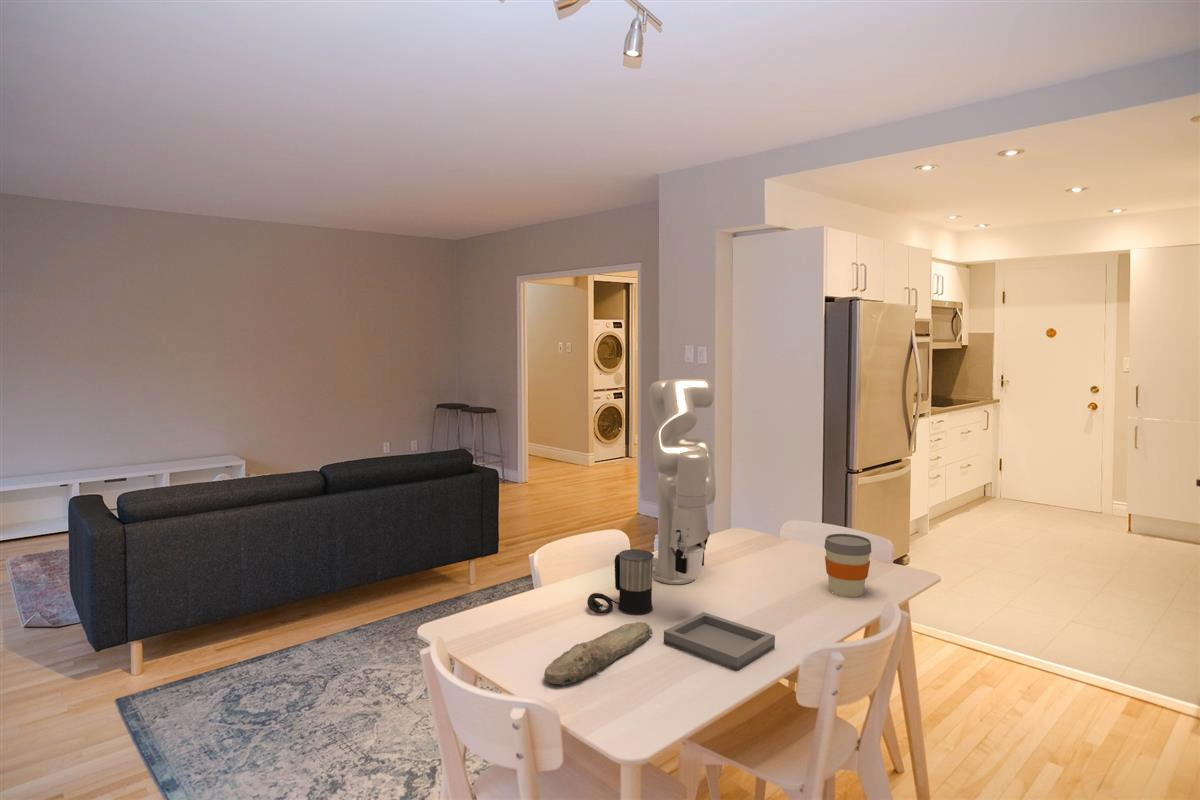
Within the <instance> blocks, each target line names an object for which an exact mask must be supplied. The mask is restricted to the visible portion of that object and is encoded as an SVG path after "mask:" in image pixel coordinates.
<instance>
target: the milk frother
mask: <svg viewBox="0 0 1200 800" xmlns="http://www.w3.org/2000/svg"><path fill="white" fill-rule="evenodd" d="M654 555H655V554H654V553H653V552H651V551H649V550H645V549H637V548H630V549H625V550H622V551H621V550H620V552H619V553H617V554H616V555H615V558H614V585H615V586H614V587H615V588H614V589H615V590H616V591H619V596H618V597H619V598H618V601H615V600H614V599H612V598H611V597H609V596H608V595H605V594H603V593H599V592H593V593H591V594H589V595H588V598H587V601H586V603H587V606H588V609H589V610H591V612H593V613H596V614H600V615H605V614H609V613H611V612H612V611H613V610H614V604H617V609H618V610H619V611H620V612H622V613H625V614H629V615H636V616H637V615H639V616H640V615H645V614H648V613H650V612H652V611H653V604H652V603H653V598H652V597H653V595H652V594H653V592H652V591H653V568H654V566H653V557H654ZM654 558H655V557H654ZM596 599H600V600H603V601H605V603H607V605H608V607H607V608H604V609H603V606H604V604H603V603H600V601H598V600H596Z"/></svg>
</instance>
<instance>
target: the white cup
mask: <svg viewBox="0 0 1200 800" xmlns="http://www.w3.org/2000/svg"><path fill="white" fill-rule="evenodd" d="M680 551H681V552H682V551H683V548H681V547H680ZM703 552H704V553H705V550H704V549H703V548H702V547H700V546H697V545H693V546H691V547H688V549H687V553H686V556H685V558H687V573H685V574H683V573H680V572H678V573H679V576H681V577H683V578H687V579H694V580H695V579H698V578H700V577H701V576H702V567H703V566H702V560H703Z"/></svg>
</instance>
